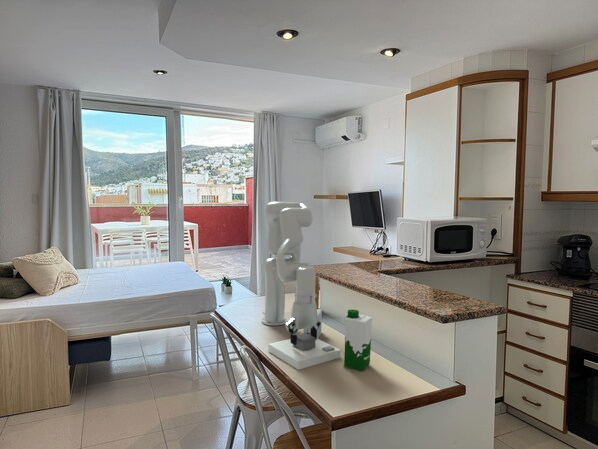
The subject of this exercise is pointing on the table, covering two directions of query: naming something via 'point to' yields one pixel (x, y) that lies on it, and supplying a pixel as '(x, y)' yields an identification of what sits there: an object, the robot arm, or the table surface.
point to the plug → (305, 342)
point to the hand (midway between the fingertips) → (303, 341)
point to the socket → (304, 353)
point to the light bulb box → (308, 330)
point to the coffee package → (315, 291)
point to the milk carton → (357, 340)
